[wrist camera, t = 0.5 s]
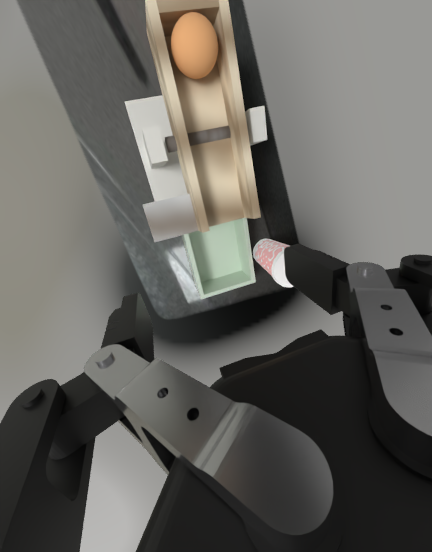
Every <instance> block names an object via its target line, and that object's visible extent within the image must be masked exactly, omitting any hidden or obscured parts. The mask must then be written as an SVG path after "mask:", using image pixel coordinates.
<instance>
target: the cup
mask: <svg viewBox="0 0 432 552" xmlns="http://www.w3.org/2000/svg"><path fill="white" fill-rule="evenodd" d="M209 230H210V231H207V232H204V233H202V232H200V231H195V232H191V233H188V234H184V235H181V236H182V239H183V243H184V247H185V250H186V254H187V258H188V261H189V265H190V269H191V272H192V276H193V280H194V283H195V287H196V289H197V291H198V293H199V296H200V298H201V299H204V298H207V297H210V296H213V295H217V294H220V293H223V292H226V291H229V290H232V289H235V288H239V287H242V286H245V285H248V284H251V283H254V282H256V280H255V273H254V266H253V259H252V252H251V245H250V238H249V230H248V223H247V218H241V219H237V220H234V221H230V222H226V223H222V224H219V225H215V226H211V227H209Z"/></svg>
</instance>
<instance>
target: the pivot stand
mask: <svg viewBox="0 0 432 552" xmlns="http://www.w3.org/2000/svg"><path fill="white" fill-rule="evenodd" d="M125 105H126V108H127V111H128V115H129V118H130V121H131V125H132V128H133V131H134V134H135V138H136V141H137V144H138V148H139V151H140V154H141V157H142V161H143V164H144V167H145V170H146V174H147V177H148V180H149V184H150V187H151V190H152V193H153V197H154V200H155V202H156V201H160V200H164V199H169V198H173V197H177V196H181V195H185V194H188V193H187V189H186V185H185V182H184V178H183V174H182V170H181V166H180V162H179V158H178V154H177V151H175V152H170V153H168V150H167V147H166V143H165V137H168V136H173V134H172V130H171V126H170V122H169V118H168V114H167V110H166V106H165V102H164V99H163V95H162V96H156V97H150V98H144V99H138V100H131V101H125ZM245 116H246V122H247V129H248V136H249V142H250V146H251V145H254V144H257V143H260V142H262V141H265V140H267V131H266V119H265V108H264V106H260V107H255V108H250V109H248V110H247V111H246V112H245Z"/></svg>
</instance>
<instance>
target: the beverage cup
mask: <svg viewBox="0 0 432 552" xmlns="http://www.w3.org/2000/svg"><path fill="white" fill-rule="evenodd" d="M286 247H289V245H286V244H283V243H280V242H277V241H274V240H271V239H262V240H260V241H259V242H257V244H256V245H255V247H254V249H253V257H254V259H255V260H256V261H257V262H258V263H259V264H260V265H261V266H262V267H263V268H264V269H265V270H266V271H267V272H268V273H270V274H271V275H272V276H273V278H274V280H275V281H276V282H277V283H278V284H280V285H281V286H283V287H293V285H291V284H290V283H289V282H288V280H287V278H286V275H285V263H284V249H285V248H286Z"/></svg>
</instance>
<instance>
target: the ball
mask: <svg viewBox="0 0 432 552" xmlns="http://www.w3.org/2000/svg"><path fill="white" fill-rule="evenodd" d="M171 50H172V55H173V59H174V61H175V63H176V65H177V67H178V68H179V70H180V71H181V72H182V73H183V74H184V75H185V76H187V77H189V78H192V79H200V78H203V77H205V76H206V75H208V74H209V73H210V72H211V70H212V69H213V67H214V65H215V63H216V60H217V55H218V41H217V36H216V32H215V30H214V28H213V26H212V24H211V23H210V21H209V20H208V19H207V18H206V17H205V16H203V15H202V14H200V13H197V12H189V13H186V14H184V15H183V16H181V17H180V18H179V20H178V21H177V22H176V24H175V26H174V28H173V32H172V36H171Z"/></svg>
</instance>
